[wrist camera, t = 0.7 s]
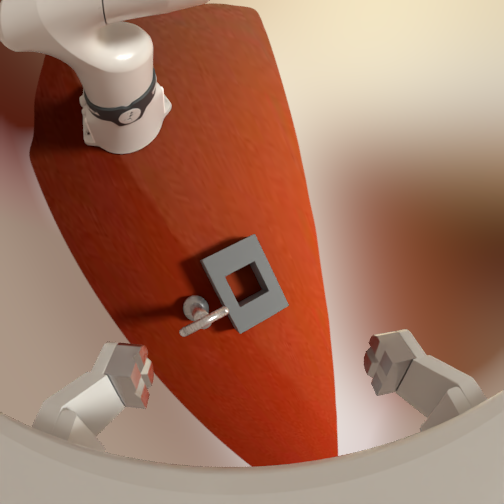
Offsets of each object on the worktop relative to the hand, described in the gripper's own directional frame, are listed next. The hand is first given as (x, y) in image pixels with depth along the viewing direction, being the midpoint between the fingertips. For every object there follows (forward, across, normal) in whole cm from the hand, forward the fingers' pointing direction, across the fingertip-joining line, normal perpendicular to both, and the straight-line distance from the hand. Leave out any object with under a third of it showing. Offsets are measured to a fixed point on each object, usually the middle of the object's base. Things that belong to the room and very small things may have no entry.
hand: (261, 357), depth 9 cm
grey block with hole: (+37, 0, +19) cm, 41 cm away
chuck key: (+33, +9, +22) cm, 40 cm away
